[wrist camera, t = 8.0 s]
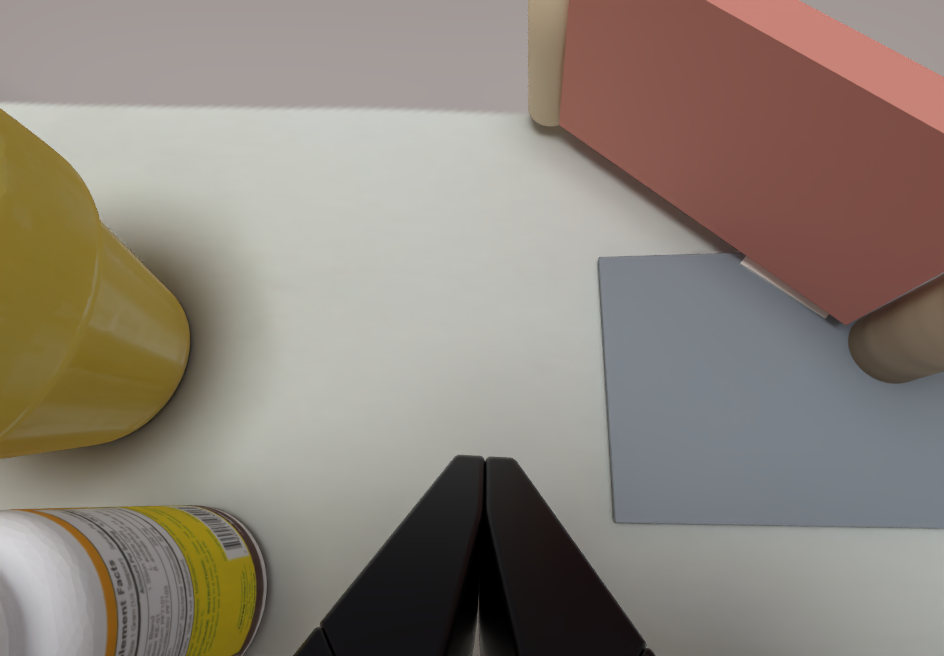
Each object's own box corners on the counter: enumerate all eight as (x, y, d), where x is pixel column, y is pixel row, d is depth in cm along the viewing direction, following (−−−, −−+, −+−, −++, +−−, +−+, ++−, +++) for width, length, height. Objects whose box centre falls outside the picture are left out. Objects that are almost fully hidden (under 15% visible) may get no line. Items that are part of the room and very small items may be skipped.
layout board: (1248, 239, 18) (1272, 230, 17) (1385, 535, 15) (1418, 536, 14) (597, 258, 20) (599, 251, 19) (614, 521, 17) (616, 522, 16)
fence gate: (867, 295, 18) (1124, 143, 10) (836, 334, 17) (1073, 208, 10) (549, 80, 21) (560, -148, 14) (518, 109, 21) (512, -107, 14)
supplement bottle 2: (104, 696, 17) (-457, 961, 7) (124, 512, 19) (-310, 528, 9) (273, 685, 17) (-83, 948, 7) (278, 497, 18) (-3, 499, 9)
